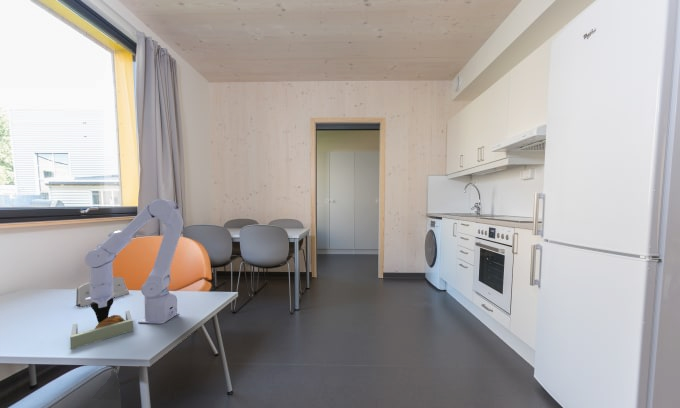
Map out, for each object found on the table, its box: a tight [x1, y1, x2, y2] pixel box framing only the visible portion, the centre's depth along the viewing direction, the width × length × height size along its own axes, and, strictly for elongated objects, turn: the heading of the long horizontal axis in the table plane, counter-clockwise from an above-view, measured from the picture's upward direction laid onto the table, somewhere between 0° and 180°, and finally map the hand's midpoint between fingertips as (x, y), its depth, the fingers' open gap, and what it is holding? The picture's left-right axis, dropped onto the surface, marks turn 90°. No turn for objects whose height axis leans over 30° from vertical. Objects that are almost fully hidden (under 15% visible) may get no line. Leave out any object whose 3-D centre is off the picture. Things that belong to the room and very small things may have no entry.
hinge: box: [75, 276, 130, 308], centre depth 108 cm, size 17×5×10 cm, turn 153°
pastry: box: [94, 314, 126, 329], centre depth 81 cm, size 9×7×4 cm
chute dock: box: [69, 310, 134, 350], centre depth 80 cm, size 12×14×4 cm
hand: (102, 321), depth 85 cm, fingers closed
